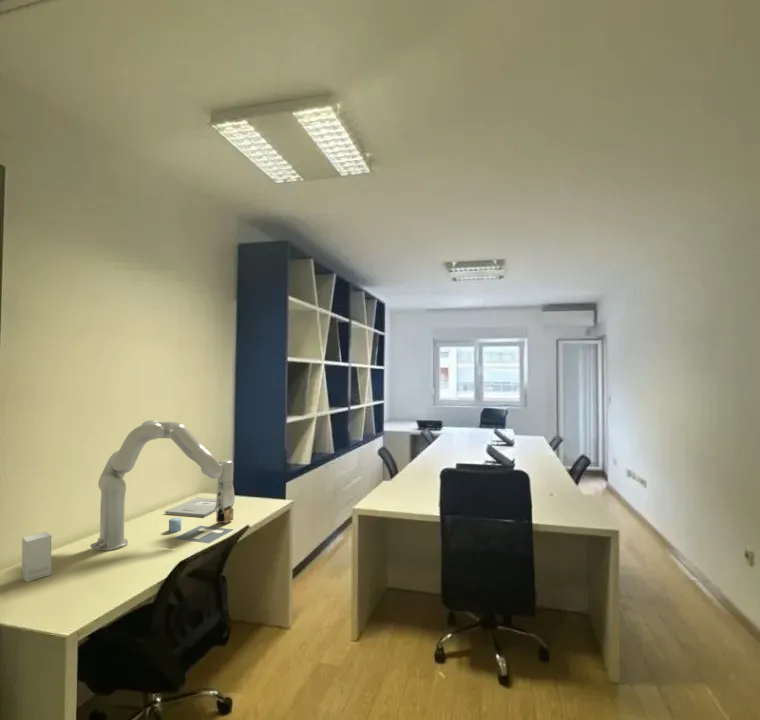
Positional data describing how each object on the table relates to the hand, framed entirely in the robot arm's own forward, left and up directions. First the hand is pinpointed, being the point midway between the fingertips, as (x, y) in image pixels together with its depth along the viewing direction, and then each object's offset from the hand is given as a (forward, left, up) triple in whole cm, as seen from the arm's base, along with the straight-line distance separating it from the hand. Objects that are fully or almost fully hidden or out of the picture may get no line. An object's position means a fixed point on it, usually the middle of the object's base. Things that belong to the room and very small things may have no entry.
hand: (224, 518), depth 245 cm
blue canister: (-18, +16, -3) cm, 24 cm away
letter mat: (-18, -1, -2) cm, 18 cm away
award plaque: (+20, +30, -3) cm, 36 cm away
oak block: (0, 0, -1) cm, 1 cm away
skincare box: (-76, +31, -3) cm, 82 cm away
